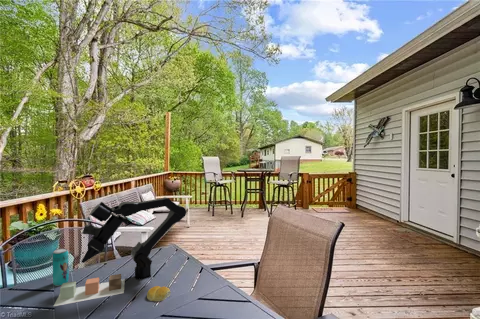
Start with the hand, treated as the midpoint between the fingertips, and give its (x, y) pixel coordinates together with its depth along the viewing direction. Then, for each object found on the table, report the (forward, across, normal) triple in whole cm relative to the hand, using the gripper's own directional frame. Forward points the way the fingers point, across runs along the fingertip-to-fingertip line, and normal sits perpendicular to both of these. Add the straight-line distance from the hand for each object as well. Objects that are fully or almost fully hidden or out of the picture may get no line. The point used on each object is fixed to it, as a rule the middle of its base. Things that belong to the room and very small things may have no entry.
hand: (83, 259), depth 107 cm
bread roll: (-5, +16, +32) cm, 36 cm away
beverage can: (+16, -13, 0) cm, 21 cm away
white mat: (+8, +1, +11) cm, 14 cm away
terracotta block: (+8, +1, +11) cm, 13 cm away
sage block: (+13, +1, +4) cm, 14 cm away
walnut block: (+3, +1, +17) cm, 18 cm away
